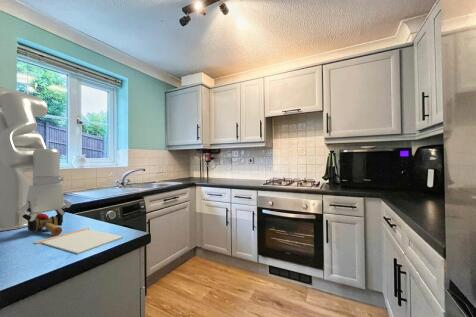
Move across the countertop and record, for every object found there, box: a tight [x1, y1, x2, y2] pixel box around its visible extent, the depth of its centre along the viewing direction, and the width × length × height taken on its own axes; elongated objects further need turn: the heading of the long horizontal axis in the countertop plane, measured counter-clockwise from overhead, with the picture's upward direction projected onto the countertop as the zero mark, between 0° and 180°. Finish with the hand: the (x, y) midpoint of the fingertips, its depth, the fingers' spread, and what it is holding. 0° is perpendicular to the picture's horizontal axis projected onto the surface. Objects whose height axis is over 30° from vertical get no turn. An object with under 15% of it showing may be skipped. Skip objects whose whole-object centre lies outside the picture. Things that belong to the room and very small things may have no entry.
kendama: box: [35, 212, 63, 237], centre depth 80 cm, size 8×6×18 cm
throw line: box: [33, 227, 90, 245], centre depth 76 cm, size 2×16×1 cm, turn 155°
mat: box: [40, 228, 124, 255], centre depth 71 cm, size 20×14×1 cm
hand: (46, 227), depth 81 cm, fingers closed on kendama, 7 cm apart
